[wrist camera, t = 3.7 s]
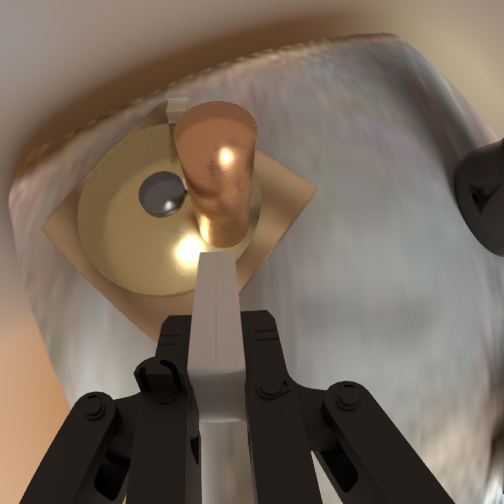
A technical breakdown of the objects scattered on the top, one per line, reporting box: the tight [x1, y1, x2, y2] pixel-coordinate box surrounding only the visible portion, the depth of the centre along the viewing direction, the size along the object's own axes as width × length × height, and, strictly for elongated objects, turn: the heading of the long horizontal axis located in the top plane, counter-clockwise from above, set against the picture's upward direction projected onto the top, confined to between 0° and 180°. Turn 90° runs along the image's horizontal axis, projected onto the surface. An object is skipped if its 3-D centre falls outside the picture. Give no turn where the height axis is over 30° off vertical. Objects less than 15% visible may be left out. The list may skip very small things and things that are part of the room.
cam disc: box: [78, 101, 262, 298], centre depth 21 cm, size 17×17×14 cm
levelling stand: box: [42, 98, 317, 344], centre depth 27 cm, size 20×20×5 cm
